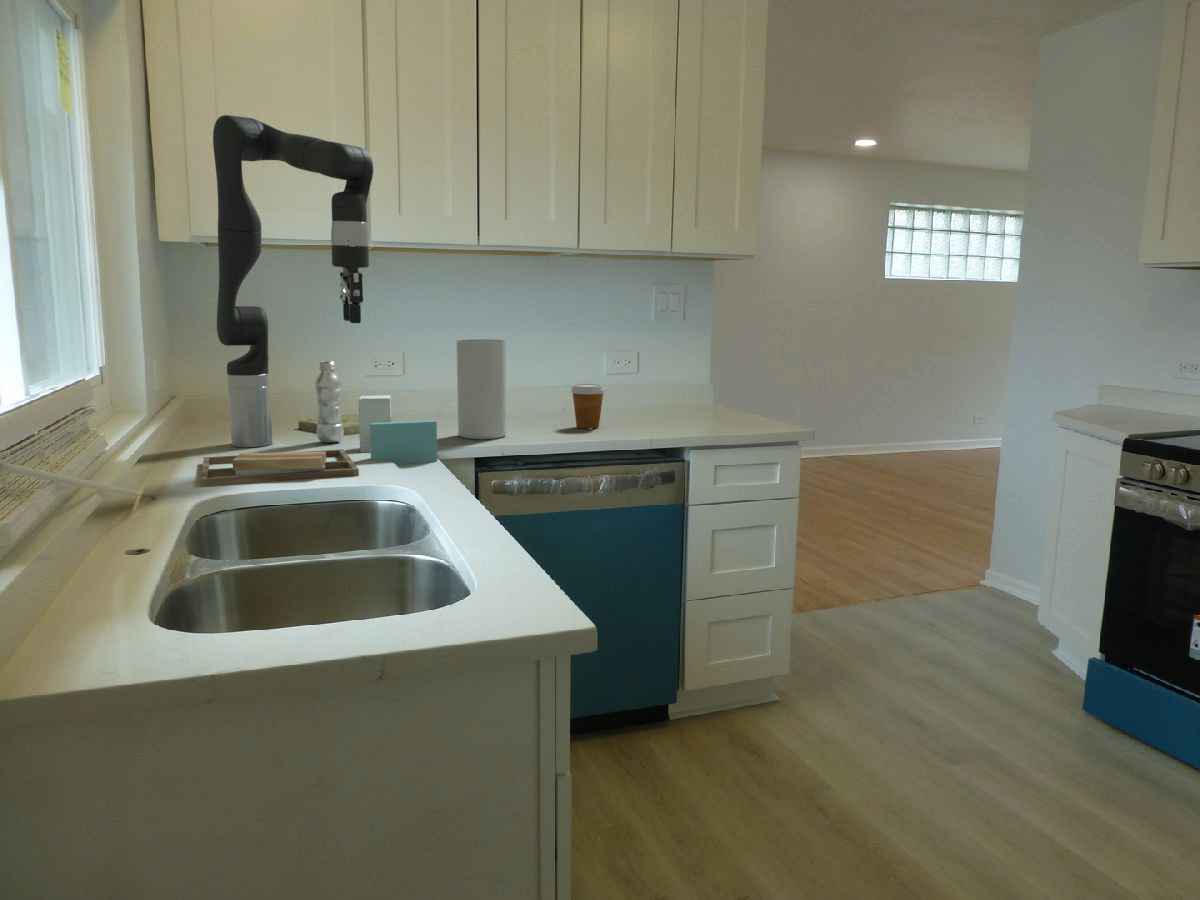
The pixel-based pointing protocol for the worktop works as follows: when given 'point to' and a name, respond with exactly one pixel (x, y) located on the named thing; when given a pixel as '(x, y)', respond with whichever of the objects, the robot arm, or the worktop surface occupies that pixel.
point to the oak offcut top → (279, 461)
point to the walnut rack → (276, 477)
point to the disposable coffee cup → (587, 404)
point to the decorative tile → (348, 422)
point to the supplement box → (372, 416)
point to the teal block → (404, 441)
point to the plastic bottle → (328, 404)
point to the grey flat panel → (274, 471)
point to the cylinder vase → (481, 388)
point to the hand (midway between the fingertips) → (352, 321)
